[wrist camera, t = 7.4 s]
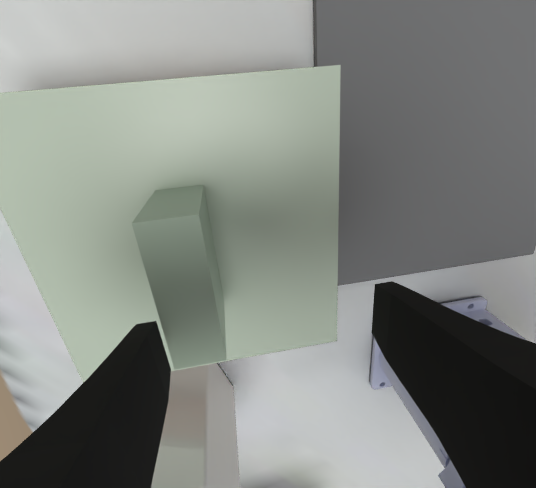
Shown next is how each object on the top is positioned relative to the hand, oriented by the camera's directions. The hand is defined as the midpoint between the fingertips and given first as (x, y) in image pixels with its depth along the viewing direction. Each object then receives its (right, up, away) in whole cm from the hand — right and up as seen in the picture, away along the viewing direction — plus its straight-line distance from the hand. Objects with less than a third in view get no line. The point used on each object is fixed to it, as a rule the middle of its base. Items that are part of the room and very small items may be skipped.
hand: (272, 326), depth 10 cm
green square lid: (-4, +3, +5) cm, 6 cm away
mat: (+11, +9, +9) cm, 17 cm away
